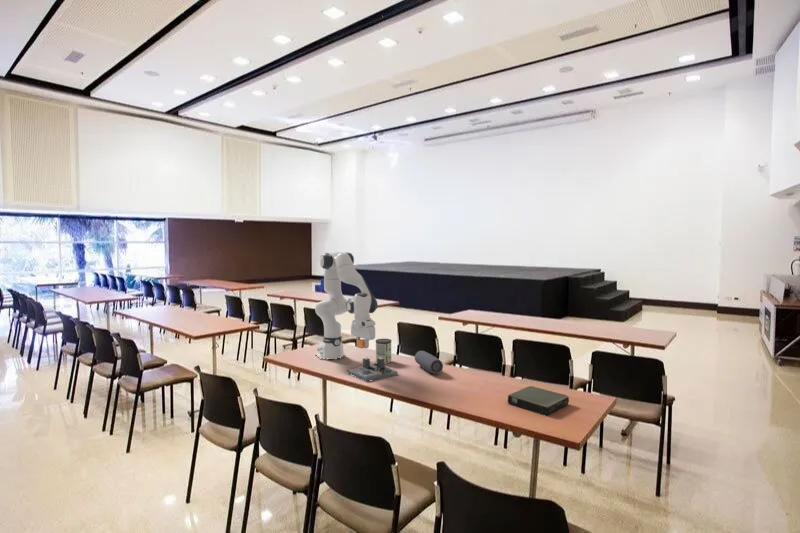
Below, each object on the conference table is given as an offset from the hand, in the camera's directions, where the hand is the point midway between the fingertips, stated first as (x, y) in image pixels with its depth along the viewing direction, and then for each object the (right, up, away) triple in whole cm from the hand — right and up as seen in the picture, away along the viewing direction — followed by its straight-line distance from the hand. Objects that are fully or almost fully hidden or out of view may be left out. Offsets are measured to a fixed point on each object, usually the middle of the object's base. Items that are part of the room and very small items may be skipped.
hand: (362, 345), depth 258 cm
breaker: (+10, -15, +11) cm, 21 cm away
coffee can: (+11, -17, +33) cm, 38 cm away
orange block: (0, -1, 0) cm, 1 cm away
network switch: (+88, -22, -41) cm, 100 cm away
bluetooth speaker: (+38, -18, +14) cm, 45 cm away
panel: (+5, -18, +6) cm, 20 cm away
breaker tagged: (+1, -15, +11) cm, 19 cm away
